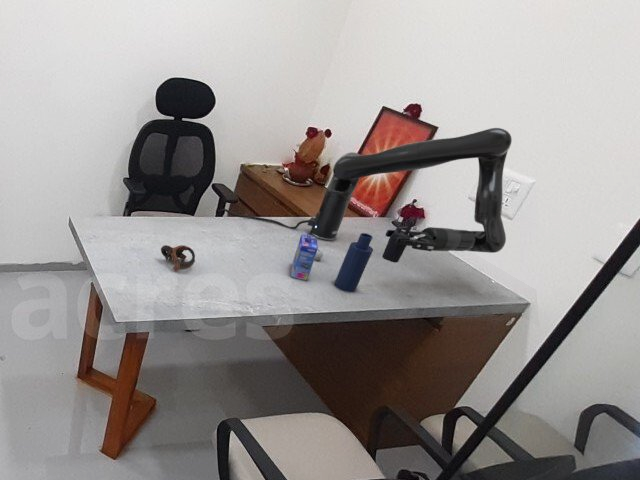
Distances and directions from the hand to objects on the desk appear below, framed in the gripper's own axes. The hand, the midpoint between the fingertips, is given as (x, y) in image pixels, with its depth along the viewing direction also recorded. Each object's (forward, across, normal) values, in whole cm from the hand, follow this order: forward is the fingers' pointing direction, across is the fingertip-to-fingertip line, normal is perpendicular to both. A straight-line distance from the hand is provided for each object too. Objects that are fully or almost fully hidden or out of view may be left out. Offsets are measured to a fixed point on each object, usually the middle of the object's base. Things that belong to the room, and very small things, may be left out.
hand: (391, 236), depth 167 cm
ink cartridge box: (+24, -5, +18) cm, 30 cm away
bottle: (+11, +3, +18) cm, 21 cm away
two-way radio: (-3, 0, +9) cm, 9 cm away
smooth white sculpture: (+13, -18, +18) cm, 29 cm away
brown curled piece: (+67, -7, +17) cm, 70 cm away
